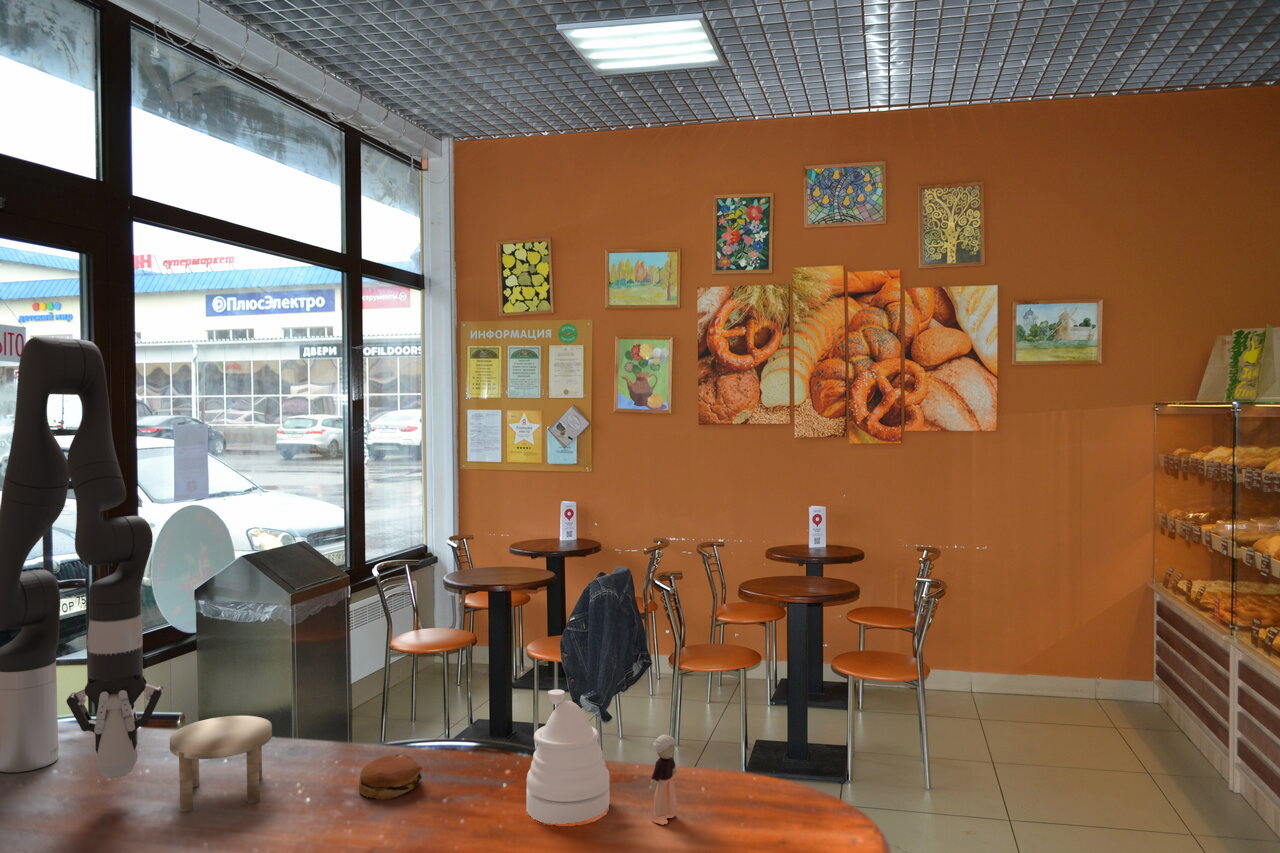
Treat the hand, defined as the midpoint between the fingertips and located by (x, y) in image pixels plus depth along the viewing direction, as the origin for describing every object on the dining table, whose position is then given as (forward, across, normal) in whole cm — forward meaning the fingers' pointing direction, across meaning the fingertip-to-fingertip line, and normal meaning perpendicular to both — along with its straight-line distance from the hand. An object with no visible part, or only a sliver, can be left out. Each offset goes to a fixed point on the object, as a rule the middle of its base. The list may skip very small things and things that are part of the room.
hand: (116, 753), depth 152 cm
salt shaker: (+3, 0, 0) cm, 3 cm away
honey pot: (+7, -66, +25) cm, 71 cm away
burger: (+8, -41, +8) cm, 43 cm away
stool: (+8, -15, +2) cm, 17 cm away
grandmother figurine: (+6, -80, +33) cm, 86 cm away
